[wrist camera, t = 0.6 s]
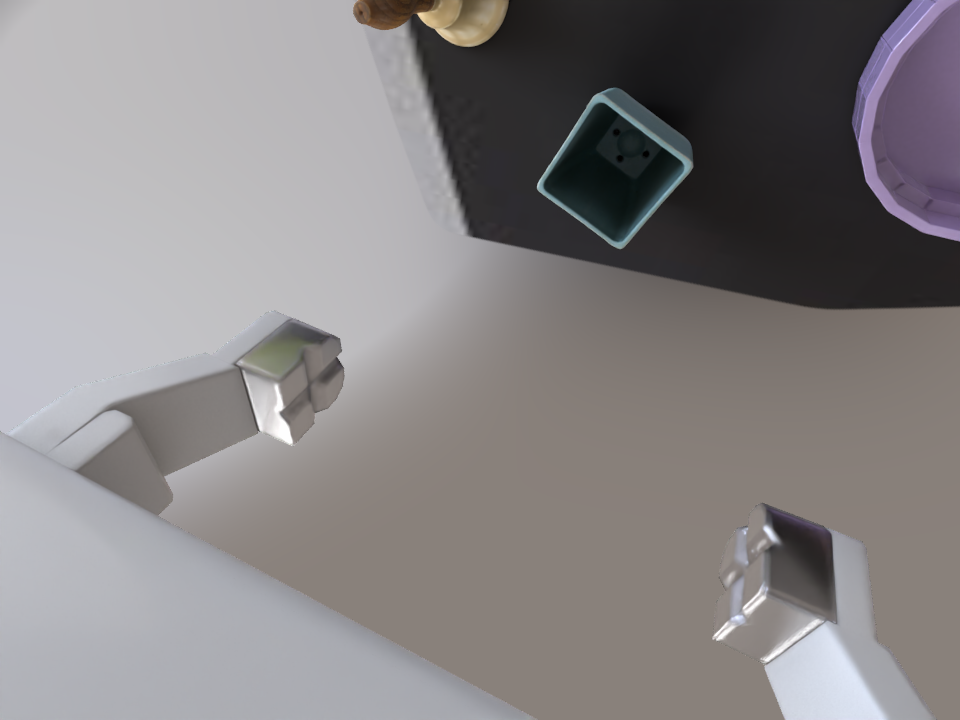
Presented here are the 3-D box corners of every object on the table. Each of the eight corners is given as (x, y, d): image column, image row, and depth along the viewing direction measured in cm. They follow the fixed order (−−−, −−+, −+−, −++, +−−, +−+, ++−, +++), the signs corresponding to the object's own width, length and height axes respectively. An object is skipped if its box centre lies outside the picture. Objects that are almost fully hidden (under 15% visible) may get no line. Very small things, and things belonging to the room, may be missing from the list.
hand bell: (438, -94, 43) (313, -96, 32) (526, -41, 42) (432, -24, 31) (411, 17, 49) (297, 49, 37) (488, 64, 48) (397, 110, 37)
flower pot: (709, 129, 44) (696, 165, 38) (641, 209, 51) (619, 252, 44) (624, 64, 44) (597, 90, 38) (565, 153, 50) (534, 188, 44)
